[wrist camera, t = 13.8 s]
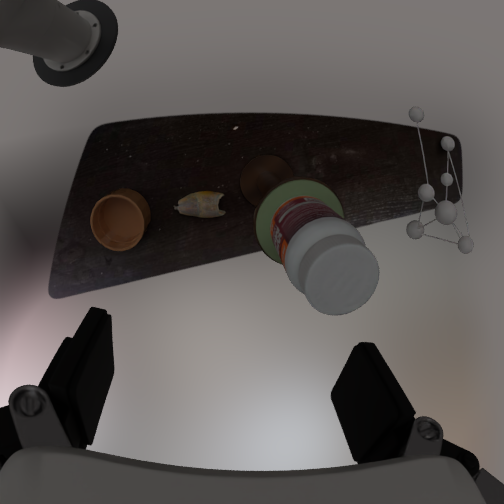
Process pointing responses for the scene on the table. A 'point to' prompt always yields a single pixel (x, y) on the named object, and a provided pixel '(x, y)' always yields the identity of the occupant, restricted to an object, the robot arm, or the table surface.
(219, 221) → the table surface
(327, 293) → the pill bottle
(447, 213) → the molecule model
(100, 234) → the bowl
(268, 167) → the stand
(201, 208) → the cream hollow shell
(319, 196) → the coaster
